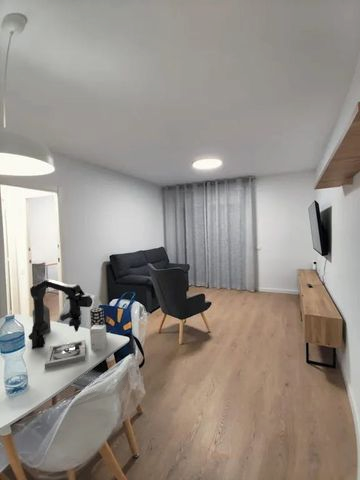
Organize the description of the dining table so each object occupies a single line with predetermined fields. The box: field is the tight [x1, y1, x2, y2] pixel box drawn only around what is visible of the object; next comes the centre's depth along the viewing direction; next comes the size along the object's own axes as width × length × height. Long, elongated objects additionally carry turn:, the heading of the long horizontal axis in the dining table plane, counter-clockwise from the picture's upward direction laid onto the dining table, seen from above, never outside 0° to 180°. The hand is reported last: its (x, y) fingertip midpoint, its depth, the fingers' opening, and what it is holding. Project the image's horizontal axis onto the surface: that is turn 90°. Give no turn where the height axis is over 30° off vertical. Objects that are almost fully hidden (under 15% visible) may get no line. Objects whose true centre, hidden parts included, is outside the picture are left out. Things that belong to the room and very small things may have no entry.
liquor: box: [32, 302, 52, 336], centre depth 171 cm, size 9×9×30 cm
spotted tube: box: [89, 307, 105, 328], centre depth 159 cm, size 8×8×20 cm
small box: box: [89, 324, 108, 351], centre depth 149 cm, size 8×6×13 cm
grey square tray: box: [44, 339, 87, 370], centre depth 140 cm, size 20×20×3 cm
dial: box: [53, 343, 80, 360], centre depth 140 cm, size 14×14×4 cm
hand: (76, 331), depth 146 cm, fingers closed
